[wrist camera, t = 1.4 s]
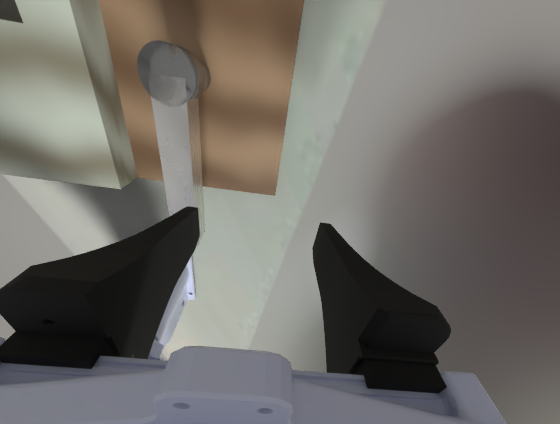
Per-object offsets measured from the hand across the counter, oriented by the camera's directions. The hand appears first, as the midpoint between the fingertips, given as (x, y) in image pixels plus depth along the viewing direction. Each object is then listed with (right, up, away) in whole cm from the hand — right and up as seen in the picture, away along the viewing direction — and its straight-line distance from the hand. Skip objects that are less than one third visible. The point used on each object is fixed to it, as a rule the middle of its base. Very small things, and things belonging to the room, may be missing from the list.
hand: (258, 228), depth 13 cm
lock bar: (-6, +5, +3) cm, 8 cm away
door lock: (-9, +11, +4) cm, 15 cm away
